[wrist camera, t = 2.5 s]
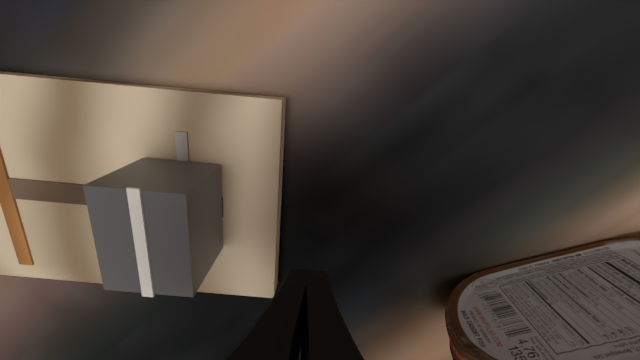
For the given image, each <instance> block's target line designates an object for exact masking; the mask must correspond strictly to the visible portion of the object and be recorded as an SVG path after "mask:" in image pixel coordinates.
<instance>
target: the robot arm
mask: <svg viewBox="0 0 640 360" xmlns="http://www.w3.org/2000/svg"><path fill="white" fill-rule="evenodd" d="M300 347H301V360H364V359H363V357H362V355H361V353H360V352H359V350H358V348H357V346H356V344H355V342H354V340H353V339H352V337H351V335H350V333H349V331H348V329H347V327H346V324H345V322H344V320H343V318H342V315H341V313H340V311H339V309H338V306H337V304H336V301H335V298H334V296H333V293H332V290H331V287H330V283H329V279H328V274H327V273H326V272H325V271H313V270H302V269H289V270H288V271H287V272H286V275H285V277H284V279H283V281H282V283H281V285H280V286H279V288H278V290H277V291H276V293H275V295H274V296H273V298H272V299H271V301H270V302H269V304H268V305H267V307H266V308H265V310H264V311H263V313H262V314H261V315H260V317H259V318H258V319H257V321H256V322H255V323H254V324H253V326H252V327H251V328H250V330H249V331H248V332H247V333H246V335H245V336H244V337H243V338H242V339H241V341H240V342H239V343H238V344H237V345H236V346H235V348H234V349H233V350H232V351H231V352H230V353H229V354H228V355H227V356H226V357H225V359H224V360H298V358H299V353H300Z"/></svg>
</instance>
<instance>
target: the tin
mask: <svg viewBox="0 0 640 360" xmlns="http://www.w3.org/2000/svg"><path fill="white" fill-rule="evenodd" d="M445 319H446V327H447V331H448V335H449V339H450V350H451V354H452V357H453V360H640V237H632V238H619V239H612V240H606V241H602V242H597V243H593V244H589V245H585V246H581V247H577V248H573V249H568V250H564V251H560V252H556V253H551V254H547V255H543V256H539V257H535V258H531V259H527V260H522V261H518V262H514V263H510V264H506V265H502V266H497V267H493V268H489V269H486V270H483V271H480V272H477V273H474V274H472V275H470V276H469V277H467V278H465V279H464V280H462V281H461V282H460V283H459V284H458V285H457V286H456V287H455V288H454V289H453V291H452V292H451V294H450V296H449V298H448V300H447V303H446V309H445Z"/></svg>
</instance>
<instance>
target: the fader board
mask: <svg viewBox="0 0 640 360" xmlns="http://www.w3.org/2000/svg"><path fill="white" fill-rule="evenodd" d="M285 110H286V97H275V96H264V95H253V94H242V93H231V92H221V91H210V90H199V89H188V88H177V87H166V86H155V85H145V84H134V83H123V82H112V81H101V80H90V79H79V78H69V77H58V76H47V75H36V74H25V73H14V72H3V71H0V275H11V276H23V277H34V278H46V279H57V280H69V281H80V282H92V283H102V278H101V273H100V268H99V263H98V258H97V253H96V248H95V243H94V238H93V233H92V228H91V223H90V218H89V213H88V208H87V203H86V199H85V194H84V189H83V185H85V184H87V183H89V182H91V181H94V180H96V179H98V178H100V177H102V176H104V175H107V174H109V173H111V172H113V171H115V170H117V169H120V168H122V167H124V166H126V165H128V164H130V163H133V162H135V161H137V160H139V159H141V158H153V159H164V160H175V161H186V162H197V163H208V164H219V165H221V192H222V226H223V249H222V250H221V252H220V254H219V255H218V257H217V259H216V260H215V262H214V264H213V265H212V267H211V269H210V270H209V272H208V274H207V275H206V277H205V279H204V281H203V282H202V284H201V286H200V287H199V289H198V291H197V292H208V293H219V294H231V295H242V296H254V297H265V298H273V296H274V295H275V291H276V287H277V282H278V262H279V240H280V219H281V197H282V175H283V154H284V132H285Z"/></svg>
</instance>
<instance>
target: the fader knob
mask: <svg viewBox="0 0 640 360" xmlns="http://www.w3.org/2000/svg"><path fill="white" fill-rule="evenodd" d="M83 189H84V194H85V199H86V203H87V208H88V213H89V218H90V223H91V228H92V233H93V238H94V243H95V248H96V253H97V258H98V263H99V268H100V273H101V278H102V283H103V288H104V290H115V291H126V292H138V293H142V296H144V297H154V296H155V295H154V294H161V295H173V296H184V297H194V296H195V294H196V292H197V291H198V289H199V287H200V286H201V284H202V282H203V281H204V279H205V277H206V275H207V274H208V272H209V270H210V269H211V267H212V265H213V264H214V262H215V260H216V259H217V257H218V255H219V254H220V252H221V250H222V249H223V226H222V192H221V165H219V164H208V163H197V162H186V161H175V160H164V159H153V158H141V159H139V160H137V161H135V162H133V163H130V164H128V165H126V166H124V167H122V168H120V169H117V170H115V171H113V172H111V173H109V174H107V175H104V176H102V177H100V178H98V179H96V180H94V181H91V182H89V183H87V184H85V185H83Z"/></svg>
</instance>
